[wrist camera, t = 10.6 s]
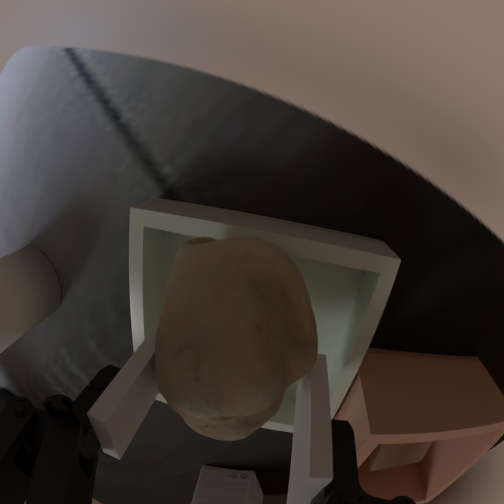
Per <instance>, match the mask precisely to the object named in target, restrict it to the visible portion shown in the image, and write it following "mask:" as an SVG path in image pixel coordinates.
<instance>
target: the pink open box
mask: <svg viewBox="0 0 504 504" xmlns="http://www.w3.org/2000/svg"><path fill="white" fill-rule="evenodd" d="M333 419H334V420H346V421H349V423H350V425H351V426H352V428H353V430H354V436H355V445H356V450H355V451H356V455H357V466H358V479H359V484H360V486H361V488H362V489H363V490H364V491H365V492H366V493H367V494H369V495H371V496H374V497H378V498H382V499H387V500H391V499H393V498H394V497H397V496H408V497H410V498H412V499H413V500H414V501H415V503H416V504H422V503H426V502H429V501H430V500H431V499H433V498H434V497H435V496H437V495H438V494H439V493H441V492H442V491H443V490H444V489H446V488H447V487H448V486H450V485H451V484H452V483H453V482H454V481H456V480H457V479H458V478H459V477H460V476H461V475H463V474H464V473H465V472H466V471H467V470H468V469H469V468H470V467H472V466H473V465H474V464H475V463H476V462H477V461H478V460H479V459H480V458H481V457H482V456H483V455H484V454H485V453H486V452H487V451H488V450H489V449H490V448H491V447H492V446H493V445H494V444H495V443H496V442H497V441H498V439H499V438H500V437H501V436H502V435H503V434H504V396H503V395H502V393H501V392H500V390H499V388H498V387H497V385H496V384H495V382H494V380H493V379H492V377H491V376H490V374H489V373H488V371H487V370H486V368H485V367H484V365H483V364H482V362H481V361H480V360H479V358H478V357H474V356H454V355H439V354H426V353H415V352H405V351H395V350H386V349H378V348H370V347H368V349H367V352H366V354H365V356H364V358H363V360H362V363H361V365H360V367H359V369H358V371H357V373H356V375H355V377H354V379H353V381H352V383H351V385H350V387H349V389H348V391H347V393H346V395H345V397H344V399H343V401H342V402H341V404H340V406H339V408H338V410H337V412H336V413H335V415H334V417H333ZM430 441H433V442H432V444H431V446H430V447H429V449H428V451H427V452H426V454H425V455H424V457H423V459H422V460H421V461H420V462H416V463H412V464H407V465H403V466H398V467H393V468H387V469H381V470H375V471H370V467H369V459H368V456H369V455H370V454H371V453H372V451H373V450H374V449H375V448H376V447H377V446H378V444H401V443H418V442H430ZM309 504H311V502H310V503H309Z"/></svg>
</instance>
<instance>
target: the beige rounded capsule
mask: <svg viewBox="0 0 504 504" xmlns="http://www.w3.org/2000/svg"><path fill="white" fill-rule="evenodd" d="M60 302H61V289H60V284H59V280H58V277H57V275H56V272H55V270H54V268H53V266H52V264H51V263H50V261H49V260H48V258H47V257H46V256H45V254H44V253H43V252H42V251H40V250H39V249H38V248H36V247H34V246H27V247H25V248H22V249H20V250H18V251H16V252H14V253H11V254H9V255H7V256H5V257H3V258H1V259H0V353H2V352H3V351H4V350H5V349H6V348H8V347H9V346H10V345H11V344H13V343H14V342H15V341H16V340H18V339H19V338H20V337H21V336H23V335H24V334H25V333H27V332H28V331H29V330H30V329H32V328H33V327H34V326H36V325H37V324H38V323H39V322H41V321H42V320H43V319H45V318H46V317H47V316H49V315H50V314H51V313H53V312H54V311H55V310H57V309H58V307H59V305H60Z"/></svg>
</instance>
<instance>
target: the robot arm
mask: <svg viewBox="0 0 504 504" xmlns="http://www.w3.org/2000/svg"><path fill="white" fill-rule="evenodd" d="M157 326H158V324H157V325H156V326H155V327H154V329H153V330H152V331H151V332H150V334H149V335H148V336H147V337H146V339H145V340H144V341H143V342H142V343H141V345H140V346H139V347H138V348H137V350H136V351H135V352H134V354H133V355H132V356H131V357H130V359H129V360H128V361H127V362H126V364H125V365H124V366H123V367H122V369H120V368H118V367H115V366H113V365H109V366H107V367H105V368H103V369H101V370H100V371H99V372H98V373H97V375H96V376H95V377H94V379H92V380H91V382H90V383H89V385H87V386H86V387H85V389H84V390H83V391H82V392H81V393H80V395H79V396H78V397H77V398H76V399H75V401H74V402H73V401H72V400H71V399H70V398H69V397H67V396H65V395H58V394H57V395H53V396H50V397H49V398H47V399H46V400H45V401H44V403H43V405H44V407H45V409H46V411H44V410H41V409H37V408H34V406H33V404H32V402H31V401H30V400H29V399H27V398H24V397H16V398H14V397H13V396H12V395H11V394H9V393H8V392H7V391H5V390H3V389H0V504H24V503H25V501H26V504H92V497H93V489H94V481H95V474H96V467H97V461H98V454H97V451H98V449H99V447H100V446H101V448H102V450H103V452H104V453H106V454H108V455H111V456H113V457H115V458H117V459H119V460H120V459H121V458H122V456H123V454H124V452H125V451H126V449H127V447H128V445H129V444H130V442H131V440H132V438H133V437H134V435H135V433H136V431H137V430H138V428H139V426H140V424H141V423H142V421H143V419H144V418H145V416H146V414H147V412H148V411H149V409H150V407H151V405H152V404H153V402H154V400H155V398H156V397H157V395H158V393H159V389H158V386H157V379H156V363H155V338H156V331H157ZM355 450H356V445H355V436H354V430H353V428H352V426H351V425H350V423H349V421H346V420H334V419H331V411H330V396H329V382H328V370H327V359H326V355H324V354H317V361H316V363H315V365H314V367H313V368H312V370H311V371H310V372H309V373H308V374H307V375H305V376H304V377H303V378H301V380H300V383H299V385H298V388H297V391H296V402H295V418H294V432H293V445H292V457H291V468H290V478H289V487H288V496H287V504H309V503H310V502H311V504H416V503H415V501H414V500H413V499H412V498H410V497H408V496H397V497H394V498H393V499H391V500H387V499H382V498H378V497H374V496H371V495H369V494H367V493H366V492H365V491H364V490H363V489H362V488H361V486H360V484H359V479H358V466H357V455H356V451H355ZM26 499H27V500H26Z"/></svg>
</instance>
